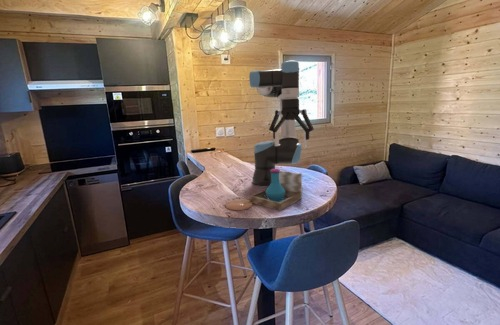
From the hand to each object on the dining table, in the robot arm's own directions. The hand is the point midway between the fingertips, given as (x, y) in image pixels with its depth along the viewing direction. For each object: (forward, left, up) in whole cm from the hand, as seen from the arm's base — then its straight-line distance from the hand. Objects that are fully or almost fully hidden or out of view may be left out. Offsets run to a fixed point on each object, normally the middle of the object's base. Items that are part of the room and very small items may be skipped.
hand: (290, 146), depth 123 cm
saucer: (-15, -21, -25) cm, 36 cm away
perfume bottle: (-5, -6, -25) cm, 27 cm away
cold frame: (-5, -6, -25) cm, 26 cm away
